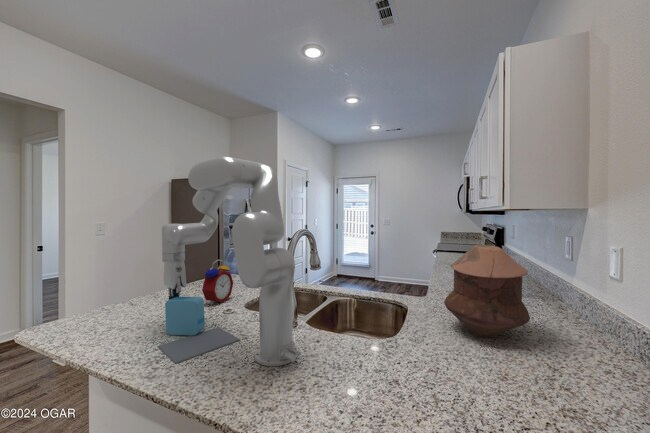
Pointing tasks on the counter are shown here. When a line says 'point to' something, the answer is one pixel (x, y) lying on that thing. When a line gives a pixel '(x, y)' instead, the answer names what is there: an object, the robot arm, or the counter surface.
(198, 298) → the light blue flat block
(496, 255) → the pottery vessel
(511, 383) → the counter surface
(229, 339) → the rubber mat
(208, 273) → the alarm clock
